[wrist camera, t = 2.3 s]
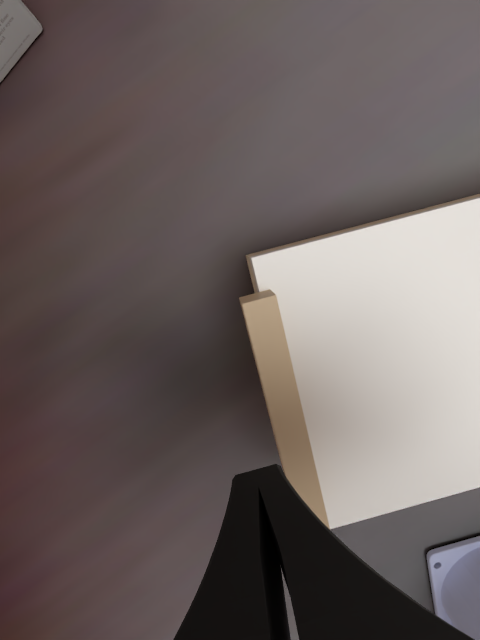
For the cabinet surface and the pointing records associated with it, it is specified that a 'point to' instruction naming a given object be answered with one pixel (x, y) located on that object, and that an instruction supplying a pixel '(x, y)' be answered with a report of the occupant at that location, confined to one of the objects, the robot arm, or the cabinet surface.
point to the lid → (373, 361)
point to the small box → (15, 33)
